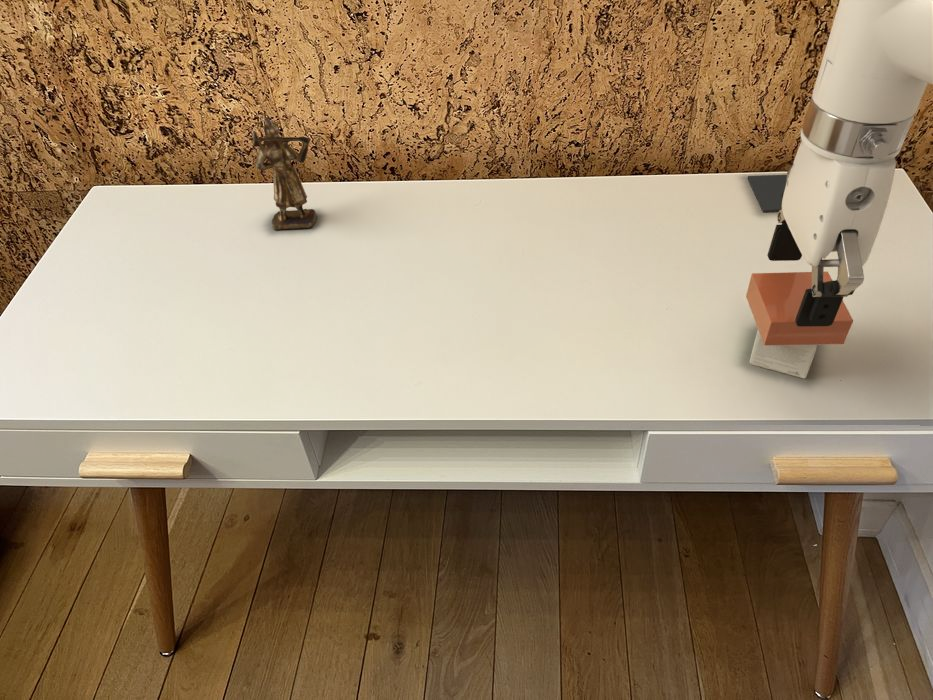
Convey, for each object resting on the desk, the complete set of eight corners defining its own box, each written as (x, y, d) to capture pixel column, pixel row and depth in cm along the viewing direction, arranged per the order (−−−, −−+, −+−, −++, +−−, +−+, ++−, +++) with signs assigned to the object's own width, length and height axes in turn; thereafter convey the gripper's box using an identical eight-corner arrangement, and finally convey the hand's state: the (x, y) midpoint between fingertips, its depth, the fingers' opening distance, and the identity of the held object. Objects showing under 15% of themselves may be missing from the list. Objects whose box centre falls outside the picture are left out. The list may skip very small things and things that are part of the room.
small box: (758, 330, 79) (768, 295, 75) (814, 345, 77) (828, 309, 73) (746, 364, 75) (757, 329, 72) (805, 381, 73) (819, 345, 70)
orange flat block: (844, 344, 70) (853, 320, 67) (764, 345, 70) (771, 322, 68) (819, 294, 75) (827, 271, 73) (745, 296, 75) (751, 273, 73)
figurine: (329, 212, 101) (306, 109, 90) (325, 228, 98) (300, 123, 87) (276, 215, 101) (247, 112, 91) (270, 231, 98) (240, 126, 88)
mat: (830, 210, 94) (831, 207, 94) (762, 212, 94) (763, 209, 94) (810, 176, 100) (811, 173, 100) (747, 178, 101) (747, 175, 100)
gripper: (951, 181, 52) (869, 353, 64) (865, 75, 64) (810, 236, 76) (842, 183, 52) (781, 353, 64) (778, 78, 65) (736, 237, 77)
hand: (797, 289), depth 70 cm, fingers open, 9 cm apart
